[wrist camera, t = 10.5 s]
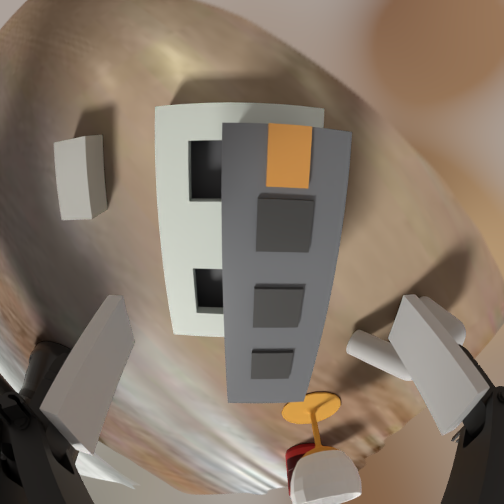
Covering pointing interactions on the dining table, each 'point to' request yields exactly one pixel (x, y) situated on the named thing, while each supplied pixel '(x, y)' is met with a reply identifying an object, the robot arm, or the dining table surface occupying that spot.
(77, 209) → the foam block
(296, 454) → the canned food
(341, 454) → the cup
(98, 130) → the dining table surface
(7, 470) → the robot arm
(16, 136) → the dining table surface
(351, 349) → the wall hook
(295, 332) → the grey slotted block
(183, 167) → the keyhole board
